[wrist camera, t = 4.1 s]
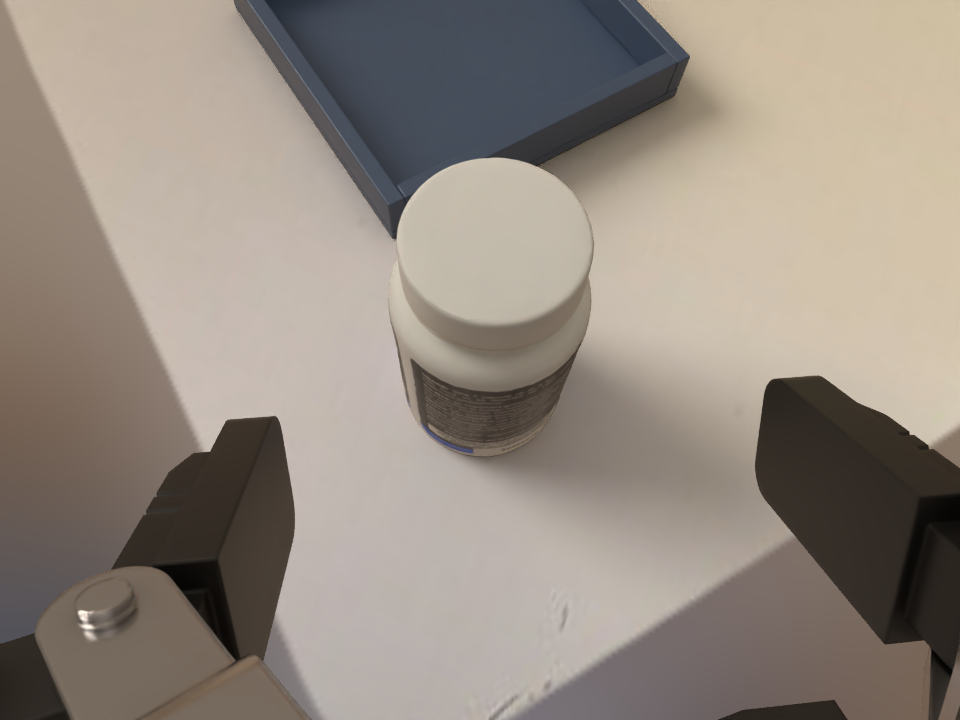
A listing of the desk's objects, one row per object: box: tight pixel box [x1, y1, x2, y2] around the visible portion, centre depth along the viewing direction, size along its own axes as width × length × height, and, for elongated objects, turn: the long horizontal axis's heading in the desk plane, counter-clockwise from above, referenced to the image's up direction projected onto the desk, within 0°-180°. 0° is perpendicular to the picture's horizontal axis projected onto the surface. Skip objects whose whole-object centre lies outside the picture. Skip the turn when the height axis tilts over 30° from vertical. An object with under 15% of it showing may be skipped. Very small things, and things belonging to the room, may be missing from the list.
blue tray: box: [234, 0, 690, 238], centre depth 26 cm, size 12×12×2 cm
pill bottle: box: [388, 158, 594, 456], centre depth 18 cm, size 5×5×8 cm
